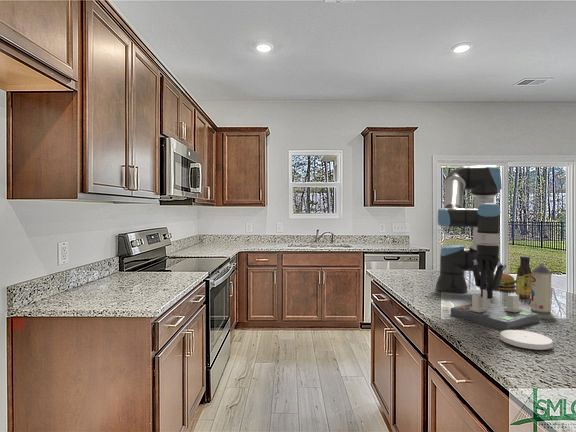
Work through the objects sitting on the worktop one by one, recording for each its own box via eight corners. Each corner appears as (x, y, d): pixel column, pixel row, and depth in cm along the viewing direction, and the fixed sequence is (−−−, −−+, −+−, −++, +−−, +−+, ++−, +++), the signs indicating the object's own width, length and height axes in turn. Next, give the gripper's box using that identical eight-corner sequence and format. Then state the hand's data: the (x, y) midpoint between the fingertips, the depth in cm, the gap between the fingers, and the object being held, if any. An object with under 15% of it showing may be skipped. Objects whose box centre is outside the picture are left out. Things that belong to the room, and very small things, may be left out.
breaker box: (450, 315, 152) (450, 307, 152) (482, 308, 164) (482, 300, 164) (507, 330, 133) (507, 321, 133) (538, 321, 145) (538, 313, 145)
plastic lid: (504, 334, 131) (504, 327, 131) (554, 344, 122) (554, 336, 122) (495, 345, 120) (496, 337, 120) (549, 356, 111) (550, 348, 111)
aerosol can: (530, 308, 165) (531, 262, 165) (549, 310, 161) (550, 263, 161) (531, 312, 159) (532, 263, 159) (551, 314, 156) (552, 265, 155)
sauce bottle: (526, 299, 182) (527, 257, 181) (513, 296, 187) (514, 256, 187) (534, 298, 185) (535, 257, 184) (521, 295, 190) (522, 255, 190)
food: (481, 287, 210) (481, 272, 210) (498, 285, 216) (499, 271, 216) (505, 292, 197) (505, 276, 197) (522, 290, 203) (523, 275, 203)
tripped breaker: (469, 310, 148) (469, 294, 148) (477, 308, 151) (477, 293, 151) (479, 312, 145) (479, 296, 145) (486, 310, 147) (487, 295, 147)
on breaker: (503, 310, 149) (504, 294, 149) (510, 308, 151) (511, 293, 151) (514, 312, 145) (514, 296, 145) (521, 310, 148) (521, 295, 148)
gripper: (465, 243, 148) (464, 304, 149) (499, 246, 137) (498, 312, 138) (477, 242, 152) (475, 301, 153) (510, 245, 141) (509, 309, 142)
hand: (486, 306), depth 145 cm, fingers closed
